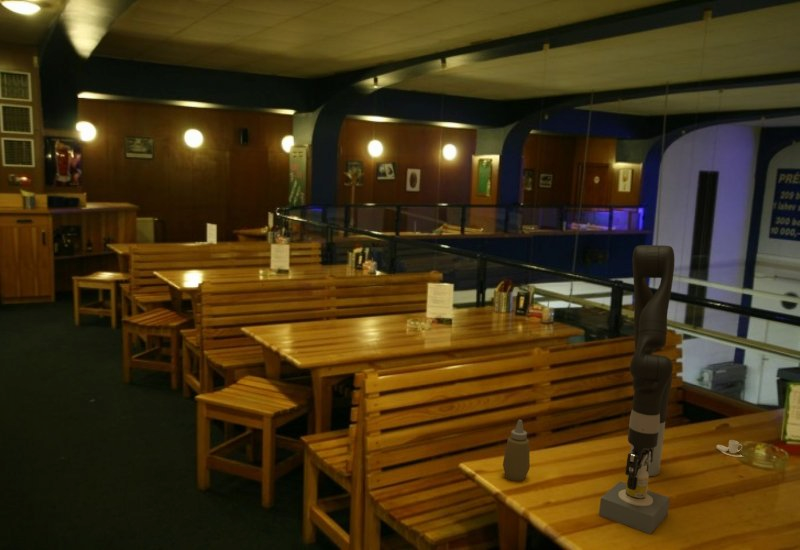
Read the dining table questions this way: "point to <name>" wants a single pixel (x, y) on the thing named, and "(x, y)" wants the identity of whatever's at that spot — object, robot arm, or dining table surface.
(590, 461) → the dining table surface
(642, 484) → the supplement bottle
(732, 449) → the teacup and saucer
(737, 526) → the dining table surface
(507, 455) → the squeeze bottle
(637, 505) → the charcoal stand
